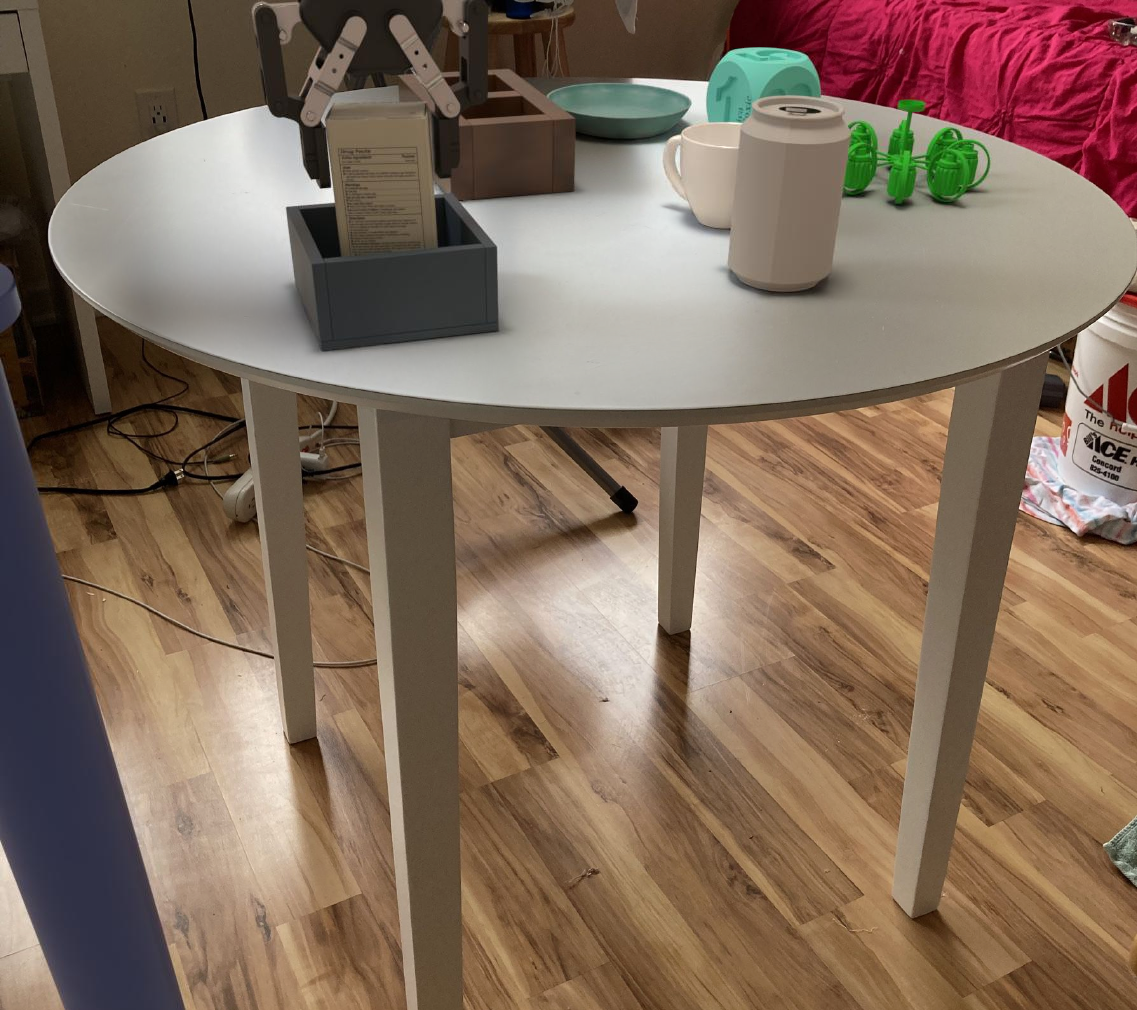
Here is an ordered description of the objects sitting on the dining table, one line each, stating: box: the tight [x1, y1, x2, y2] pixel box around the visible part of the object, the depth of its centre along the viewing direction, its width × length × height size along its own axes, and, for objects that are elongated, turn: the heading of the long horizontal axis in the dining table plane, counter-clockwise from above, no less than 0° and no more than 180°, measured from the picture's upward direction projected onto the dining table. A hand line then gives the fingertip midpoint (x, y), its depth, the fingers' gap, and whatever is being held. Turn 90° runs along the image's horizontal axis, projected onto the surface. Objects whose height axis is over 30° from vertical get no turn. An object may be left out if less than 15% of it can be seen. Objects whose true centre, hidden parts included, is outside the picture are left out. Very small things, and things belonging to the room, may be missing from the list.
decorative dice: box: [705, 47, 822, 123], centre depth 114 cm, size 8×8×8 cm
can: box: [726, 95, 852, 293], centre depth 83 cm, size 8×8×12 cm
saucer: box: [546, 82, 693, 140], centre depth 120 cm, size 15×15×3 cm
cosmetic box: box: [324, 101, 438, 257], centre depth 76 cm, size 6×4×12 cm
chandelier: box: [843, 99, 991, 205], centre depth 103 cm, size 15×15×7 cm
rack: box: [397, 68, 576, 201], centre depth 107 cm, size 11×20×6 cm, turn 19°
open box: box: [285, 193, 500, 351], centre depth 79 cm, size 12×12×6 cm
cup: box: [662, 122, 742, 230], centre depth 95 cm, size 8×10×7 cm
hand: (383, 179), depth 75 cm, fingers open, 7 cm apart
